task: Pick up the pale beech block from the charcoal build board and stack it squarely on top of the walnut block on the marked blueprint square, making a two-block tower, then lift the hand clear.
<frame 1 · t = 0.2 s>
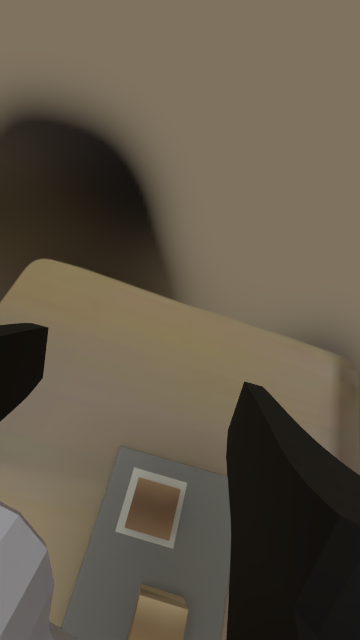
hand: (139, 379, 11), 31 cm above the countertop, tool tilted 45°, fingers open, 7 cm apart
beech block: (155, 619, 31), point 1 cm above the countertop, touching build board
walnut block: (152, 506, 35), point 1 cm above the countertop, touching build board
build board: (157, 564, 33), on the countertop
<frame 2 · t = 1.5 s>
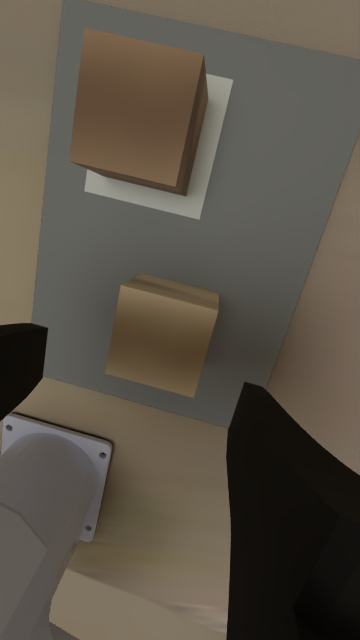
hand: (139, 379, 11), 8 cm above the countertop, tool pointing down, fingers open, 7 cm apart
beech block: (171, 320, 18), point 1 cm above the countertop, touching build board
walnut block: (153, 139, 16), point 1 cm above the countertop, touching build board
build board: (172, 247, 18), on the countertop
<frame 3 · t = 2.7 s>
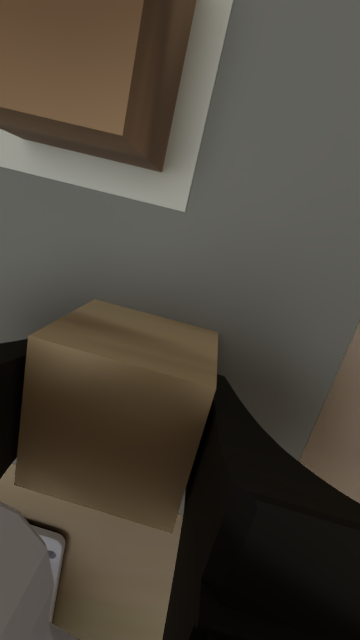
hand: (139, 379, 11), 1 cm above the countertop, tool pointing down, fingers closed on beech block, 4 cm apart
beech block: (143, 371, 12), point 1 cm above the countertop, touching build board, gripper
walnut block: (103, 70, 9), point 1 cm above the countertop, touching build board
build board: (143, 256, 11), on the countertop
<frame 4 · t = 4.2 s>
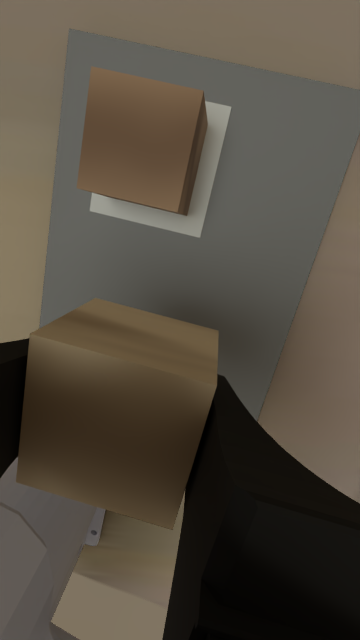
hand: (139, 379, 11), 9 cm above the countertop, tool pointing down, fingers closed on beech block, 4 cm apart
beech block: (143, 370, 12), point 8 cm above the countertop, touching gripper
walnut block: (155, 162, 17), point 1 cm above the countertop, touching build board
build board: (174, 263, 19), on the countertop
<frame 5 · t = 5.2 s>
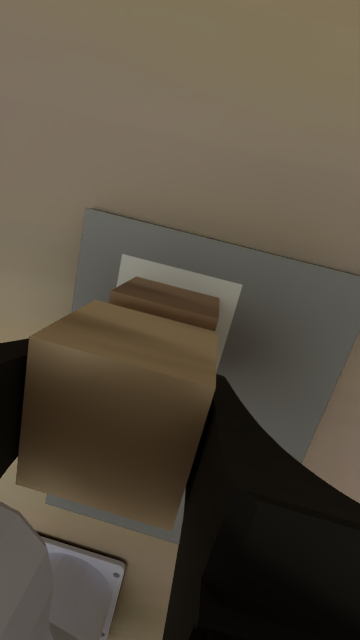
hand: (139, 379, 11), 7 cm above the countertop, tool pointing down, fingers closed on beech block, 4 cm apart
beech block: (143, 371, 12), point 7 cm above the countertop, touching gripper
walnut block: (168, 326, 17), point 1 cm above the countertop, touching build board
build board: (184, 405, 19), on the countertop
when the fingers open (7 cm above the countertop, at t = 5.7 s): beech block drops 1 cm, resting on walnut block.
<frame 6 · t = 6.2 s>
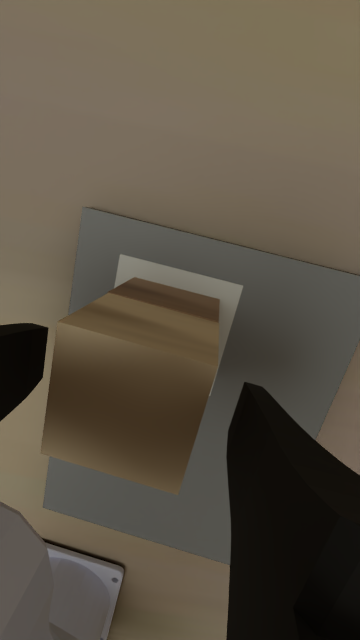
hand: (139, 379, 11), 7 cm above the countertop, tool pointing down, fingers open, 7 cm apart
beech block: (151, 359, 13), point 5 cm above the countertop, touching walnut block
walnut block: (167, 328, 17), point 1 cm above the countertop, touching beech block, build board
build board: (183, 408, 19), on the countertop
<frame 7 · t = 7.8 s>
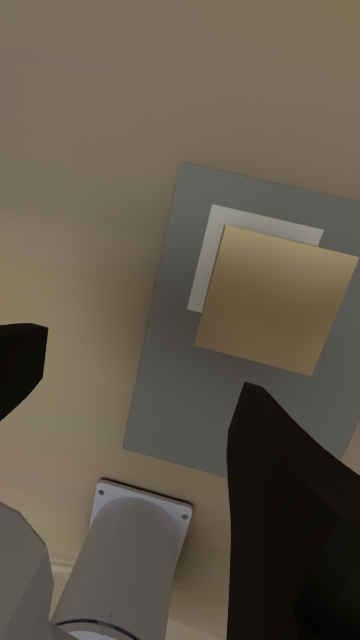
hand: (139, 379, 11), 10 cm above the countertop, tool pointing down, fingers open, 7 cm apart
beech block: (258, 284, 15), point 5 cm above the countertop, touching walnut block
build board: (257, 350, 21), on the countertop
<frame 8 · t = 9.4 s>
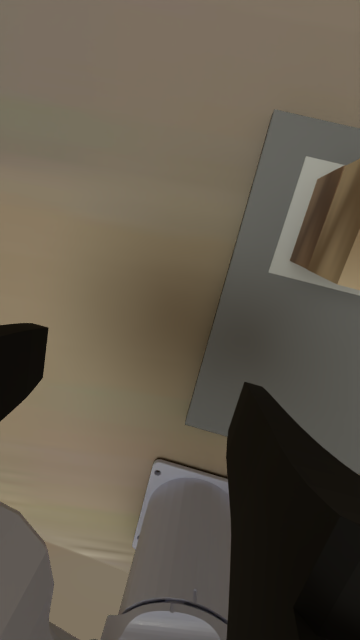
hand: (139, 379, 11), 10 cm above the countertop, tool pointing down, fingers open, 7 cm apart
walnut block: (342, 231, 18), point 1 cm above the countertop, touching beech block, build board
build board: (338, 318, 20), on the countertop
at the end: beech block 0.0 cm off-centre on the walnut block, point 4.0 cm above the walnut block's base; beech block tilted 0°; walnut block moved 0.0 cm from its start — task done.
